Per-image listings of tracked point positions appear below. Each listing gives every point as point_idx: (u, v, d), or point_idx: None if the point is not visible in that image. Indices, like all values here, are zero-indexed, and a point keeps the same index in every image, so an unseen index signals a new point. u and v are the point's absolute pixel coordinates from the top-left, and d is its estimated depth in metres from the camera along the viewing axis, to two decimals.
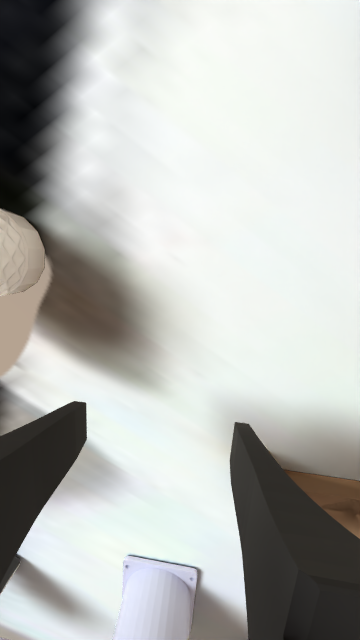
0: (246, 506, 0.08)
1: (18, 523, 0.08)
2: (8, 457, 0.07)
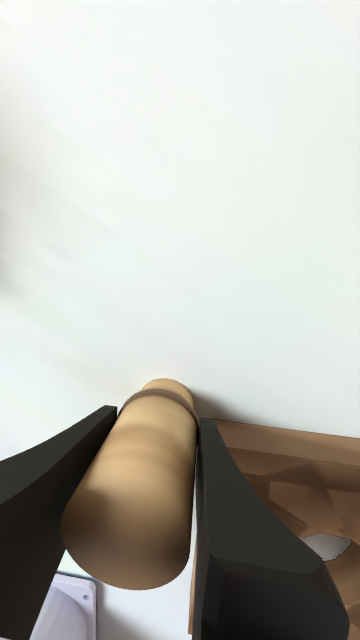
0: (200, 499, 0.08)
1: None
2: (57, 465, 0.07)
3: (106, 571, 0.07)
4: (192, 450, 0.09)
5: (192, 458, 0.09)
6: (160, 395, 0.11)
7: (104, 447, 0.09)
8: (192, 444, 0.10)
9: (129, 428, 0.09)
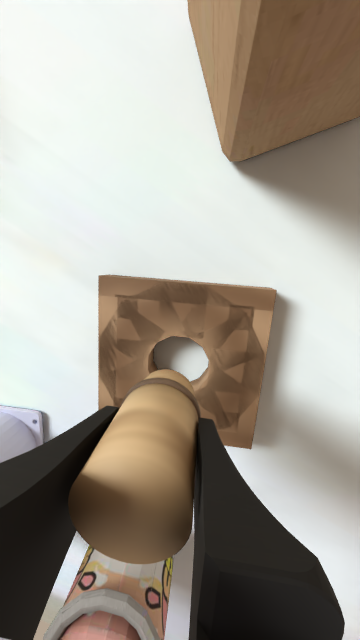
0: (198, 498, 0.08)
1: (65, 531, 0.08)
2: (60, 465, 0.07)
3: (117, 548, 0.08)
4: (191, 430, 0.10)
5: (191, 437, 0.09)
6: (157, 383, 0.11)
7: (105, 433, 0.09)
8: (191, 425, 0.10)
9: (127, 414, 0.09)
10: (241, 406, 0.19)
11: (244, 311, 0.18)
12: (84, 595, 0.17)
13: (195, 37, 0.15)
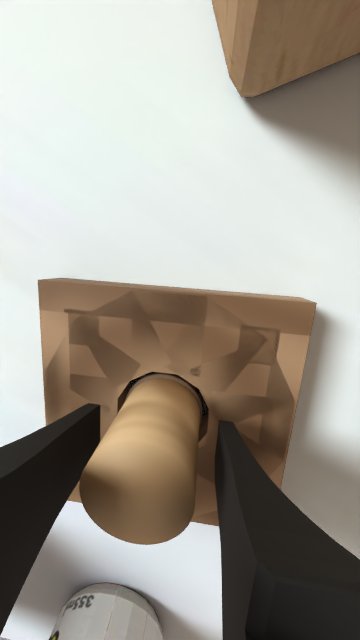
0: (225, 503, 0.08)
1: (39, 526, 0.08)
2: (31, 461, 0.07)
3: (124, 529, 0.08)
4: (193, 421, 0.10)
5: (193, 428, 0.10)
6: (161, 378, 0.12)
7: (112, 424, 0.09)
8: (193, 417, 0.11)
9: (133, 406, 0.10)
10: None
11: (264, 336, 0.11)
12: None
13: None
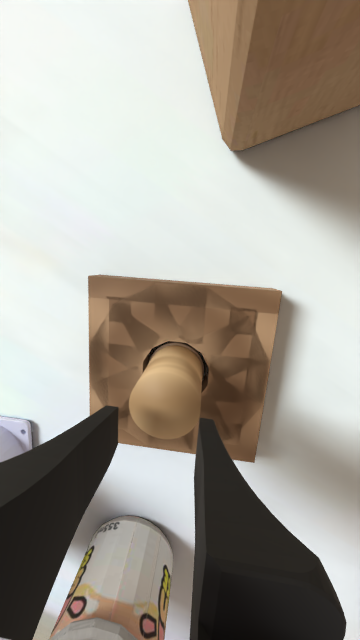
0: (199, 498, 0.08)
1: (65, 531, 0.08)
2: (59, 465, 0.07)
3: (156, 429, 0.13)
4: (198, 370, 0.15)
5: (198, 374, 0.15)
6: (175, 345, 0.17)
7: (145, 369, 0.15)
8: (198, 368, 0.16)
9: (158, 358, 0.15)
10: (243, 417, 0.18)
11: (247, 314, 0.16)
12: (72, 626, 0.15)
13: (192, 12, 0.14)
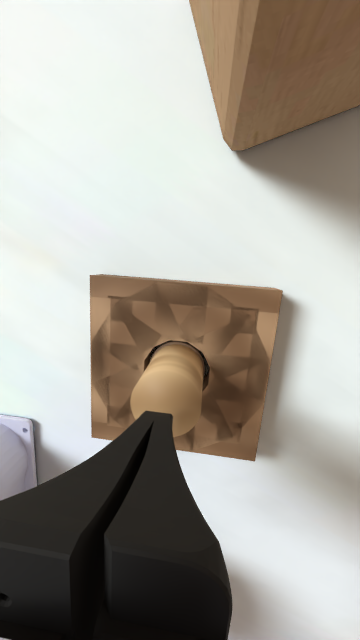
0: None
1: None
2: (122, 475, 0.07)
3: None
4: (199, 369, 0.15)
5: (199, 372, 0.15)
6: (176, 344, 0.17)
7: (147, 368, 0.15)
8: (199, 367, 0.16)
9: (159, 357, 0.15)
10: (244, 415, 0.18)
11: (247, 313, 0.16)
12: None
13: (193, 12, 0.14)
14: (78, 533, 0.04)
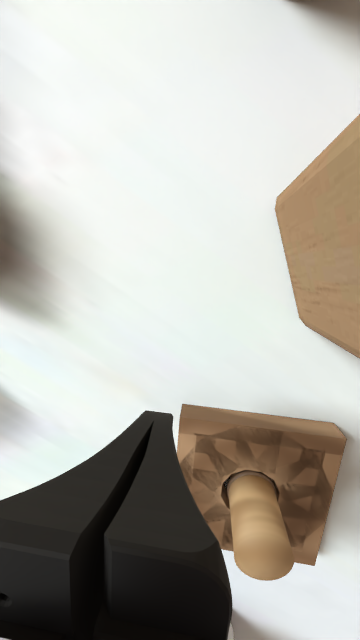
0: None
1: None
2: (122, 475, 0.07)
3: (255, 573, 0.17)
4: (279, 508, 0.19)
5: (280, 513, 0.18)
6: (252, 475, 0.20)
7: (239, 513, 0.18)
8: (277, 504, 0.19)
9: (248, 501, 0.18)
10: (307, 530, 0.21)
11: (315, 454, 0.20)
12: None
13: (282, 230, 0.17)
14: (78, 533, 0.04)
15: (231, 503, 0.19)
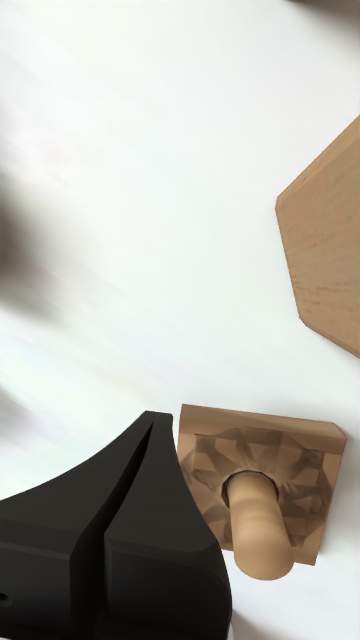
0: None
1: None
2: (122, 475, 0.07)
3: (255, 573, 0.17)
4: (279, 508, 0.19)
5: (280, 513, 0.18)
6: (252, 475, 0.20)
7: (239, 513, 0.18)
8: (277, 504, 0.19)
9: (248, 501, 0.18)
10: (307, 530, 0.21)
11: (315, 454, 0.20)
12: None
13: (282, 231, 0.17)
14: (78, 533, 0.04)
15: (231, 503, 0.19)
